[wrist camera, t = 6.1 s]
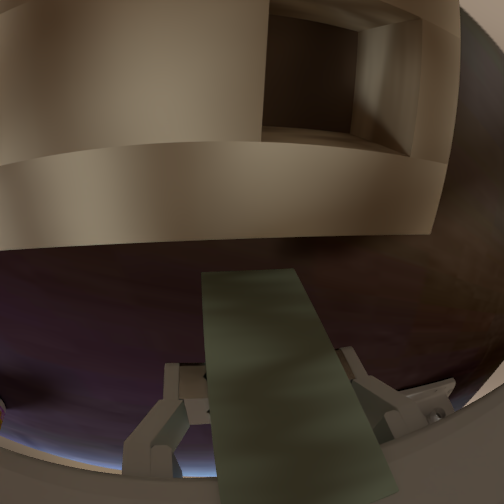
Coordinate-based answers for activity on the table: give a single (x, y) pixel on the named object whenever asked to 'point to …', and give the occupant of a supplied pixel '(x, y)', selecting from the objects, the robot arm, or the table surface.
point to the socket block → (223, 118)
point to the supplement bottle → (2, 412)
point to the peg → (283, 398)
